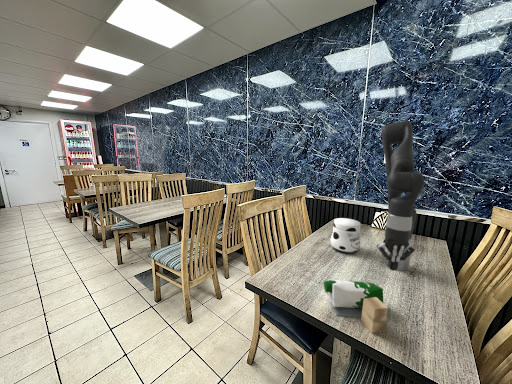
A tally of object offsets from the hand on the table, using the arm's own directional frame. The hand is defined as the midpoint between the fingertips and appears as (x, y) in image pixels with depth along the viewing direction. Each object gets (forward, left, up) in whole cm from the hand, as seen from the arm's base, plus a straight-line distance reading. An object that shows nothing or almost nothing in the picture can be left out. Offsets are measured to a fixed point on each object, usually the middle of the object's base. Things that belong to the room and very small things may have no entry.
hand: (392, 269), depth 76 cm
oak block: (+11, +11, -15) cm, 22 cm away
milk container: (-1, -49, -16) cm, 51 cm away
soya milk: (+5, +2, -10) cm, 11 cm away
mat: (+14, 0, -15) cm, 21 cm away
